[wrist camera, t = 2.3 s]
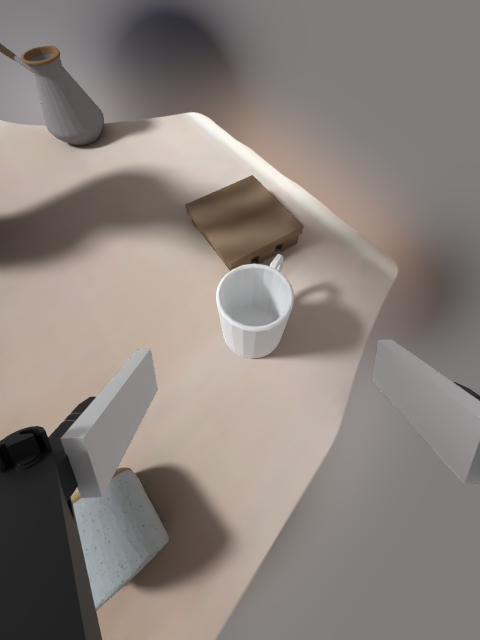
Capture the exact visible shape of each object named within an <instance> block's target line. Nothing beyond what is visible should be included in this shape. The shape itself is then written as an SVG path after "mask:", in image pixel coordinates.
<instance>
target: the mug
mask: <svg viewBox="0 0 480 640" xmlns="http://www.w3.org/2000/svg"><path fill="white" fill-rule="evenodd" d="M282 265H283V256H282V255H280V254H278V255H277V256H276V257H275V258H274V260H273V261H272V262H271V264H270V266H267V265H262V264H247V265H242V266H240V267H237V268H235V269H232V270H231V271H230V272H229V273H228V274H226V275H225V276H224V277H223V279H222V280H221V282H220V283H219V285H218V289H217V293H216V300H217V307H218V312H219V317H220V321H221V326H222V331H223V336H224V339H225V341H226V343H227V345H228V347H229V348H230V349H231V350H232V351H233V352H234V353H236V354H238V355H240V356H242V357H245V358H252V359H254V358H260V357H264V356H266V355H268V354H270V353H271V352H272V351H273V350H274V349H275V348H276V347H277V346H278V344H279V342H280V340H281V337H282V335H283V332H284V329H285V327H286V324H287V321H288V319H289V316H290V313H291V311H292V308H293V304H294V293H293V289H292V286H291V284H290V282H289V281H288V279H287V278H286V277H285V276H284V275H283V274H282V273H281V272H280V271H281V268H282Z"/></svg>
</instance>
